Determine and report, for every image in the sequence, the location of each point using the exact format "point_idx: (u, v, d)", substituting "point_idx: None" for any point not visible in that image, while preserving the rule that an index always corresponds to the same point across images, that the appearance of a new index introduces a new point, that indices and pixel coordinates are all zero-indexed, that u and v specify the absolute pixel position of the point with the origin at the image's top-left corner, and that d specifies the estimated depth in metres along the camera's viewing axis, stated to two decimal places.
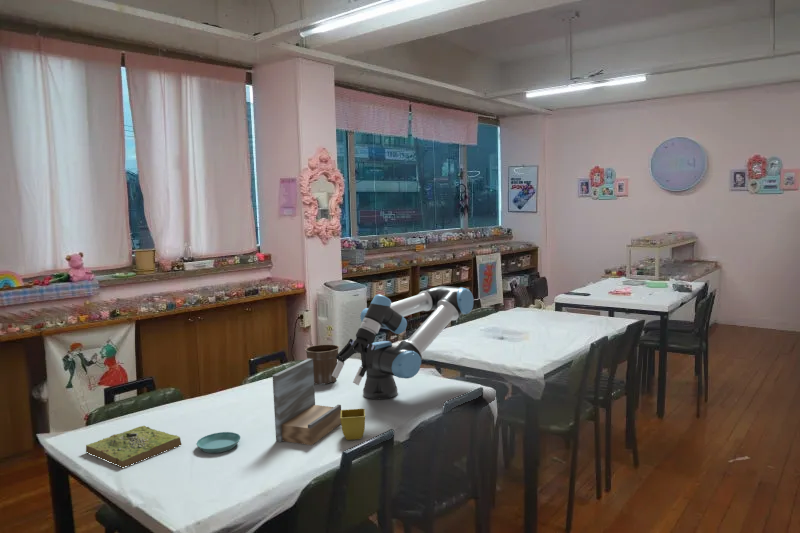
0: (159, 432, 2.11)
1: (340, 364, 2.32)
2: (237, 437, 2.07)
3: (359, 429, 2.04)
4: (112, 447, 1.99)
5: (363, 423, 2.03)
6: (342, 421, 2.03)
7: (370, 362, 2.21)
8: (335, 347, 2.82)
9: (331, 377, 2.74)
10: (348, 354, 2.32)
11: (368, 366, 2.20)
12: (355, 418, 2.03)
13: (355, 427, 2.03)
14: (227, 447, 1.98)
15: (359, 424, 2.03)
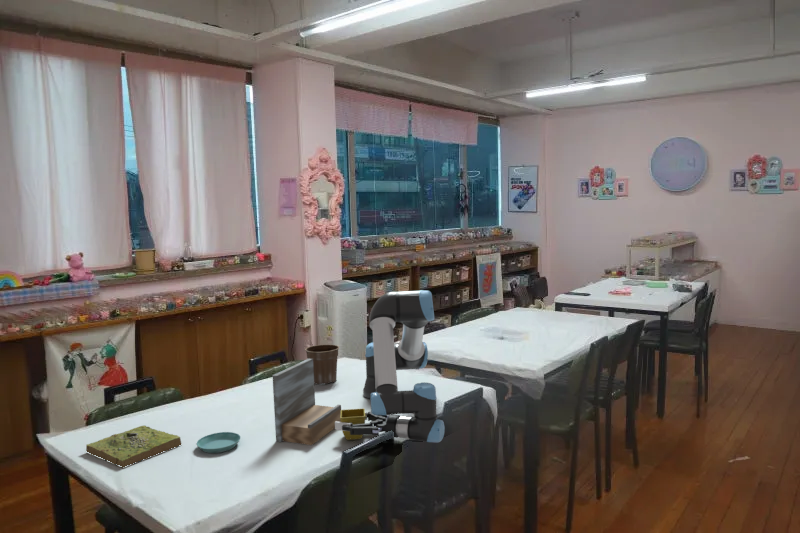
0: (159, 432, 2.11)
1: None
2: (237, 437, 2.07)
3: None
4: (112, 447, 1.99)
5: (363, 423, 2.03)
6: (342, 421, 2.03)
7: None
8: (335, 347, 2.82)
9: (331, 377, 2.74)
10: None
11: None
12: (355, 418, 2.03)
13: None
14: (227, 447, 1.98)
15: None
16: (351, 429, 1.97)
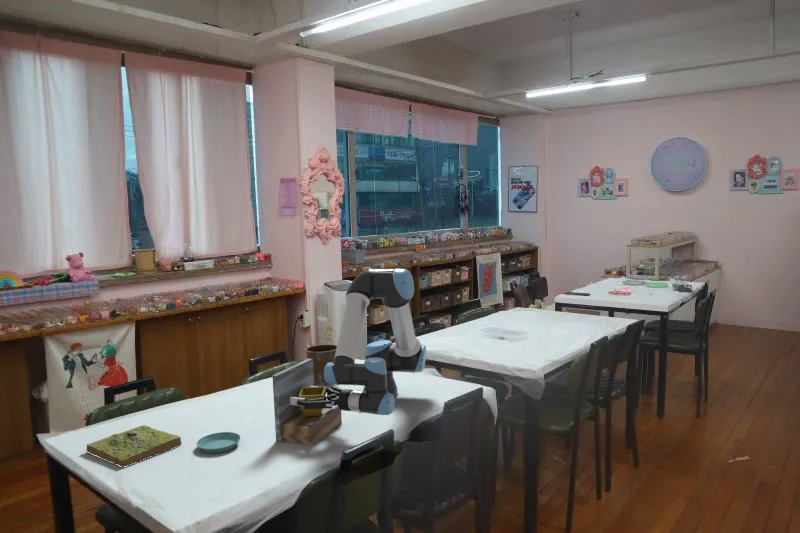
0: (159, 432, 2.11)
1: None
2: (237, 437, 2.07)
3: None
4: (112, 446, 1.99)
5: None
6: None
7: None
8: (335, 347, 2.82)
9: None
10: None
11: None
12: (313, 396, 2.10)
13: None
14: (227, 447, 1.98)
15: None
16: (305, 404, 2.02)
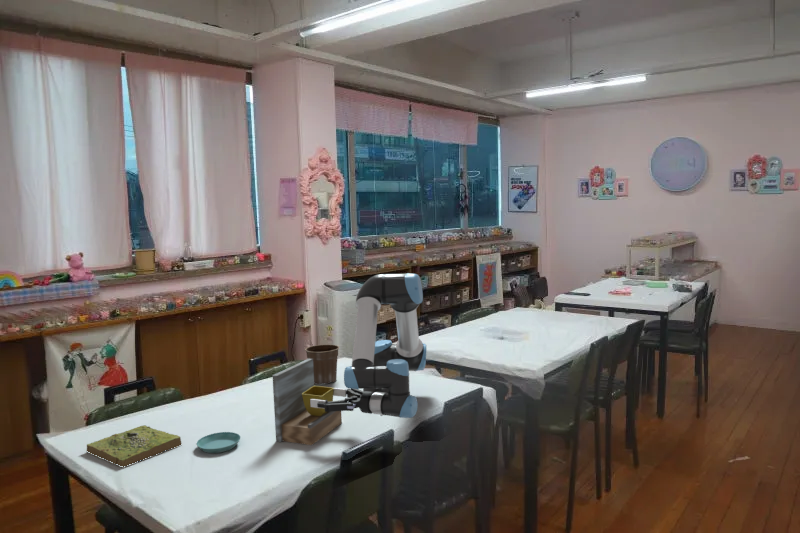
0: (160, 432, 2.11)
1: None
2: (237, 437, 2.07)
3: None
4: (112, 446, 1.99)
5: None
6: (303, 397, 2.12)
7: None
8: (335, 347, 2.82)
9: (331, 377, 2.74)
10: None
11: None
12: (313, 396, 2.10)
13: None
14: (227, 447, 1.98)
15: None
16: (326, 406, 1.99)
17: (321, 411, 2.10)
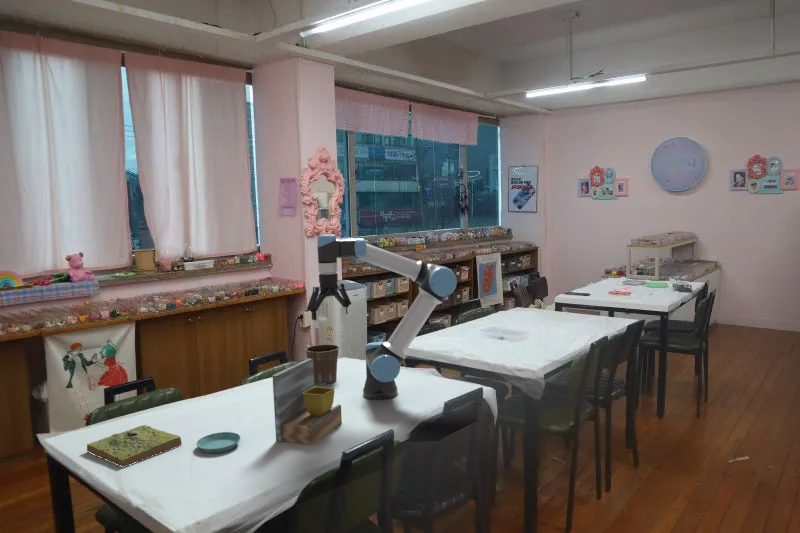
0: (160, 431, 2.11)
1: (342, 309, 2.40)
2: (237, 437, 2.07)
3: (318, 406, 2.10)
4: (113, 446, 1.99)
5: (321, 401, 2.10)
6: (304, 396, 2.12)
7: (309, 305, 2.29)
8: (335, 347, 2.82)
9: (331, 377, 2.74)
10: (337, 299, 2.38)
11: None
12: (314, 395, 2.10)
13: (315, 404, 2.11)
14: (227, 447, 1.98)
15: (318, 402, 2.10)
16: None
17: (321, 411, 2.11)
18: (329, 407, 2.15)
